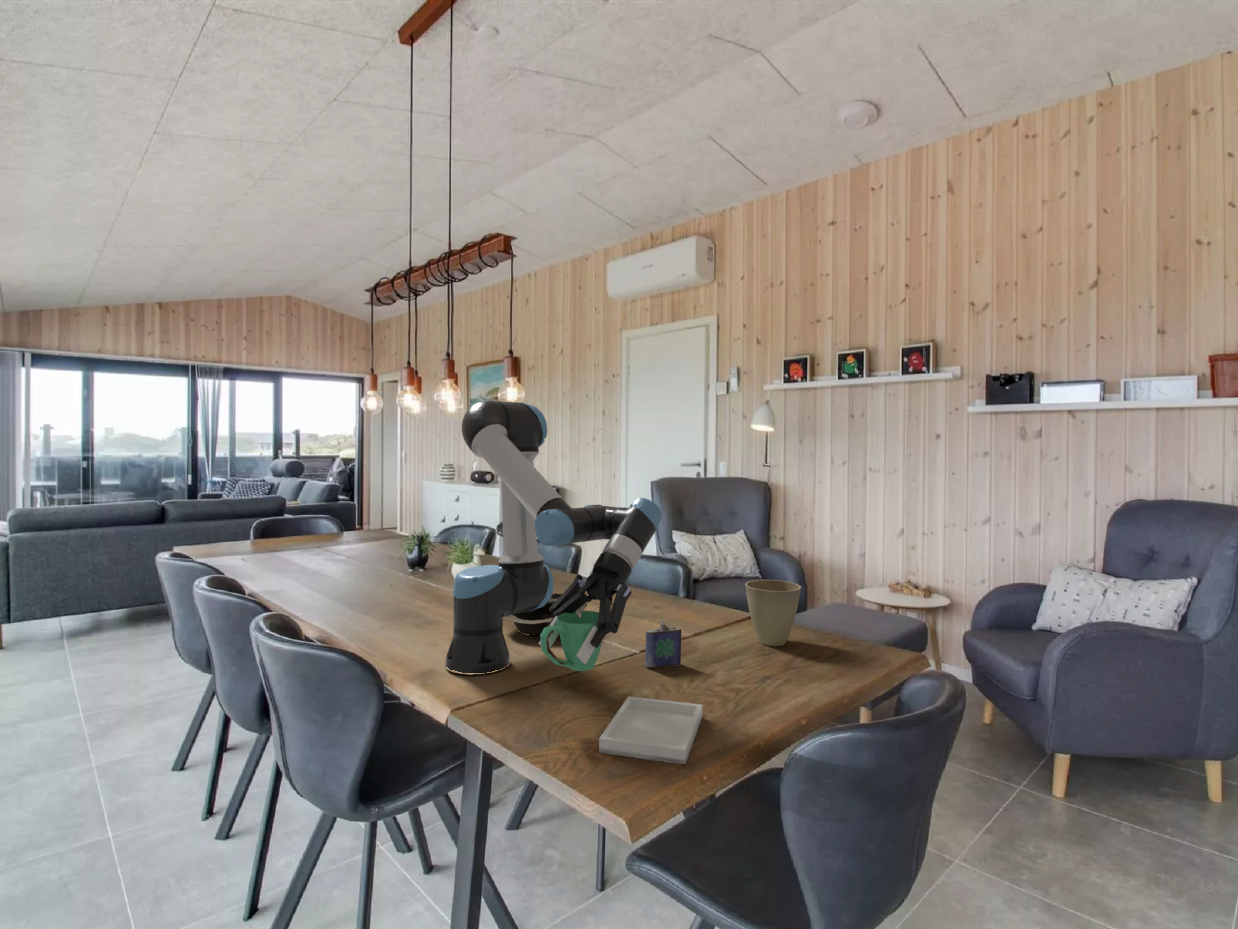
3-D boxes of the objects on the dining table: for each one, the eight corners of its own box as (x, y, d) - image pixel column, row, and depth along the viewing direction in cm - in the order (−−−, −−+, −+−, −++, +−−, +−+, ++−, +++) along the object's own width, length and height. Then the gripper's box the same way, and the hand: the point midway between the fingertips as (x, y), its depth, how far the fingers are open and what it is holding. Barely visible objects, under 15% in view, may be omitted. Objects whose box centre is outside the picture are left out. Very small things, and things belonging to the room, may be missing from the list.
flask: (647, 669, 153) (647, 625, 153) (643, 665, 156) (643, 621, 156) (682, 666, 156) (683, 622, 156) (677, 662, 159) (678, 619, 159)
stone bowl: (592, 620, 197) (593, 590, 196) (579, 651, 172) (580, 617, 172) (514, 616, 200) (514, 587, 199) (490, 646, 175) (490, 613, 174)
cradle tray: (599, 752, 110) (599, 738, 110) (628, 708, 129) (628, 696, 129) (685, 764, 106) (685, 749, 106) (702, 717, 125) (702, 704, 125)
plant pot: (733, 638, 179) (734, 582, 179) (774, 632, 186) (775, 578, 186) (769, 653, 166) (769, 592, 166) (811, 646, 173) (812, 587, 173)
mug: (584, 655, 134) (584, 608, 133) (616, 667, 126) (616, 617, 126) (526, 672, 123) (526, 621, 123) (558, 686, 116) (558, 631, 116)
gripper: (667, 580, 129) (614, 678, 117) (586, 565, 143) (532, 651, 132) (651, 557, 125) (595, 656, 113) (570, 544, 139) (513, 630, 128)
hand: (561, 653), depth 122 cm, fingers closed on mug, 10 cm apart
